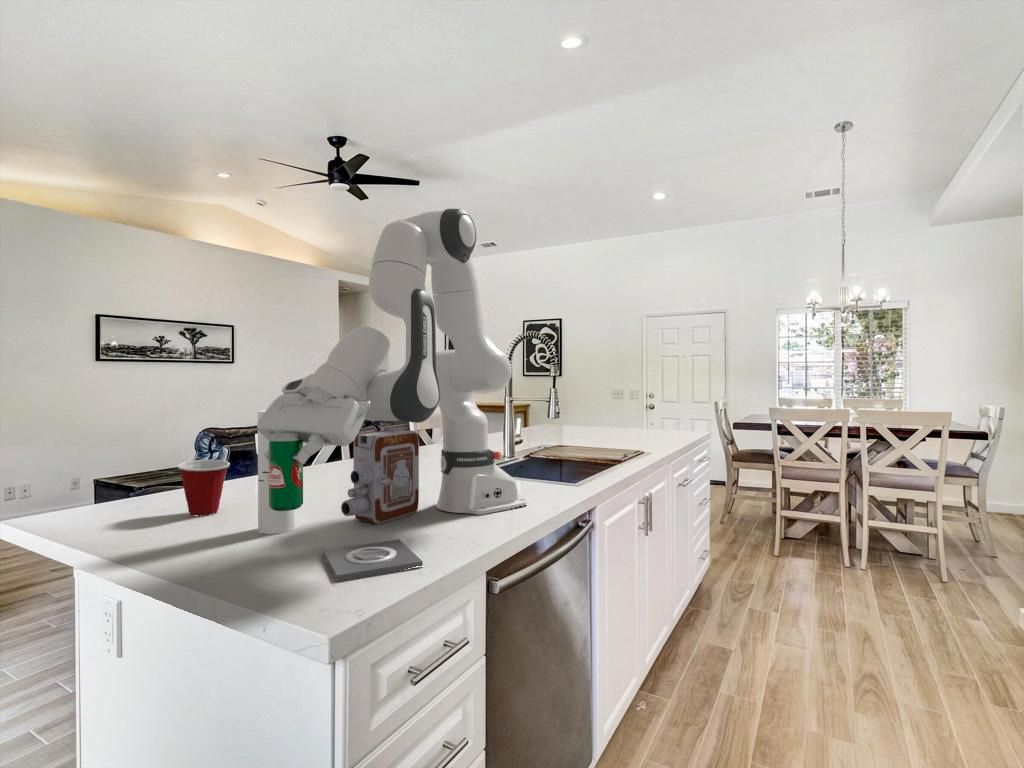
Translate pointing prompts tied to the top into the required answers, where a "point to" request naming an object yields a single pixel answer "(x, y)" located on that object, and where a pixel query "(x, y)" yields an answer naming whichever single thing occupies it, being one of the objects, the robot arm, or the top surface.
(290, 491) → the soda can
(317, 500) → the top surface
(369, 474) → the cine camera
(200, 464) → the plastic cup
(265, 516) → the cylindrical container
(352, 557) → the mount plate
